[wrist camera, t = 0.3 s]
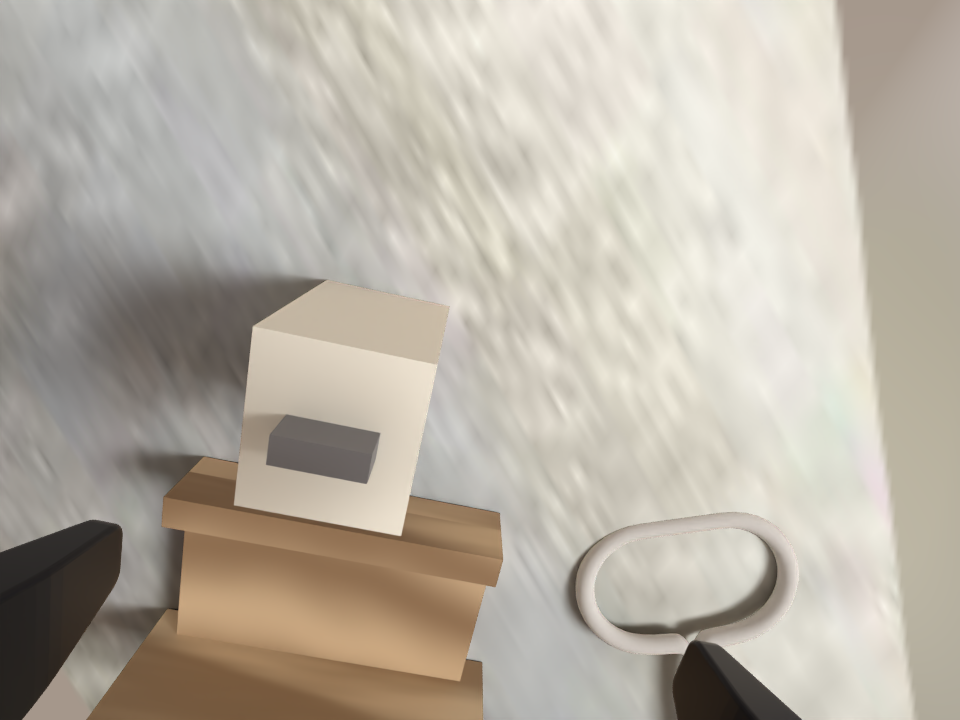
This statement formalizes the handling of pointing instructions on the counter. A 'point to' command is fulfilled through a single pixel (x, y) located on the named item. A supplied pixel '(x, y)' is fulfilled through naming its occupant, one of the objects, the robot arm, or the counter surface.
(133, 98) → the counter surface
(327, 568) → the board
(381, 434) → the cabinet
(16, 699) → the robot arm
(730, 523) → the hook
